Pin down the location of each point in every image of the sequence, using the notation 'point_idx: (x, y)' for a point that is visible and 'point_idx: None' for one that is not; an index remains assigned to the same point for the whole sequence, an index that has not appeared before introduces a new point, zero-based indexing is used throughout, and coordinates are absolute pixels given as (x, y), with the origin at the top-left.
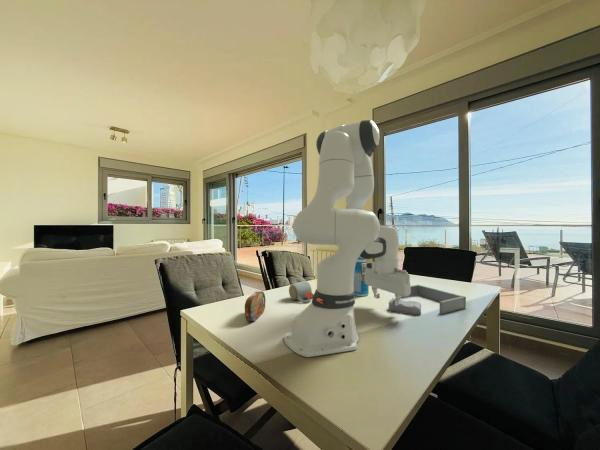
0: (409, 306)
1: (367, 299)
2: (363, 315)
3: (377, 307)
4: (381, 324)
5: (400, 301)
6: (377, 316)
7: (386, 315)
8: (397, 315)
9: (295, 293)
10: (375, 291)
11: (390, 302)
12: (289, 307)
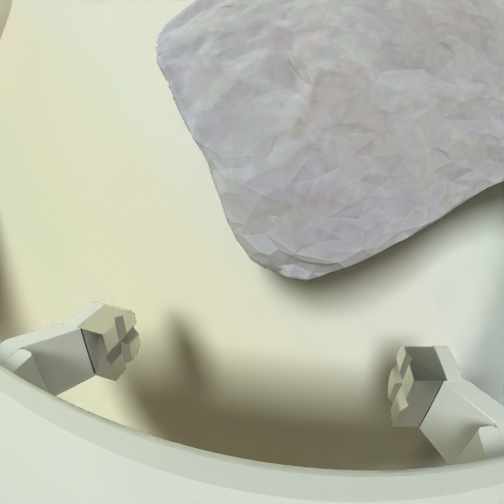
0: (501, 181)
1: (19, 176)
2: (251, 449)
3: (171, 269)
4: (397, 466)
5: (367, 149)
6: (316, 419)
7: (350, 368)
8: (414, 301)
9: None
10: (64, 369)
11: (283, 276)
12: None
